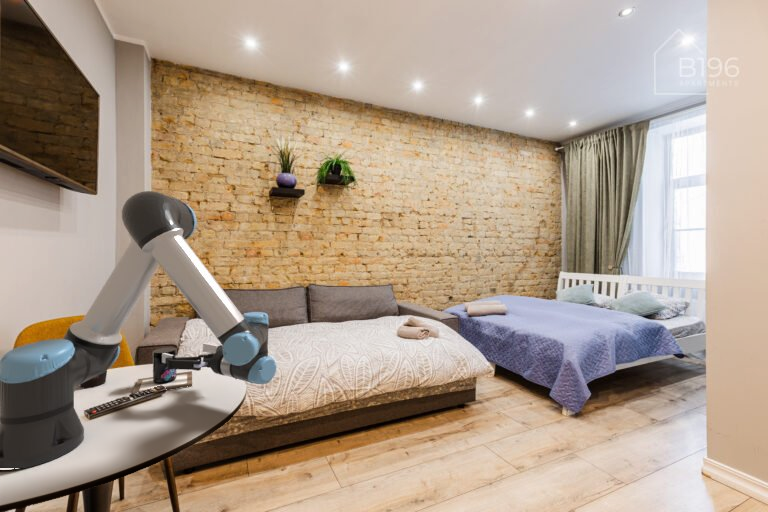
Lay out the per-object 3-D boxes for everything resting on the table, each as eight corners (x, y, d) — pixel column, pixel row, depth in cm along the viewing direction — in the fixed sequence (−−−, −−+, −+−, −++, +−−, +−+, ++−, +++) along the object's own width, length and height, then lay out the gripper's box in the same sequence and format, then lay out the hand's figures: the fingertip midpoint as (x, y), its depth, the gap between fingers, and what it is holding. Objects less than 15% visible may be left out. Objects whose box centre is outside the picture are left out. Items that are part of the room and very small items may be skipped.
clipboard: (192, 386, 113) (192, 381, 113) (132, 396, 105) (132, 391, 105) (191, 373, 125) (191, 369, 125) (138, 381, 117) (138, 376, 117)
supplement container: (156, 386, 110) (156, 354, 110) (150, 381, 115) (150, 350, 115) (179, 380, 115) (179, 349, 115) (172, 375, 120) (172, 346, 120)
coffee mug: (116, 380, 118) (116, 351, 118) (92, 390, 110) (92, 359, 109) (85, 378, 119) (85, 350, 119) (60, 388, 111) (59, 357, 111)
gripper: (189, 389, 90) (142, 375, 99) (262, 363, 112) (218, 353, 122) (190, 361, 90) (143, 349, 99) (262, 340, 112) (218, 332, 122)
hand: (184, 352), depth 111 cm, fingers open, 13 cm apart
